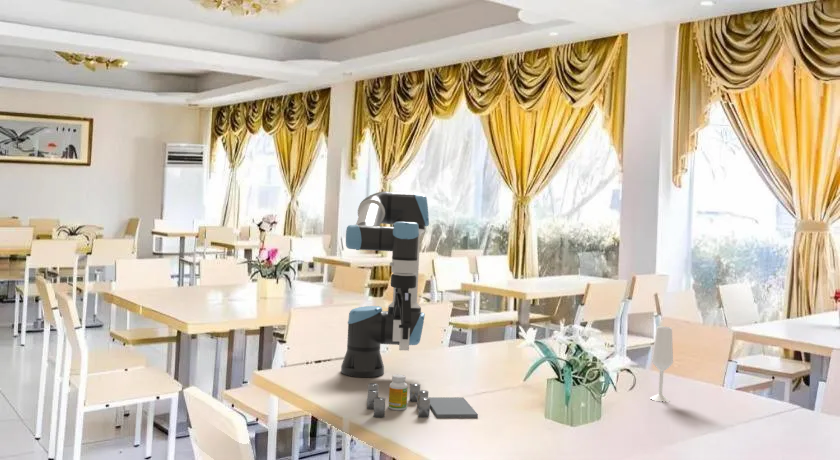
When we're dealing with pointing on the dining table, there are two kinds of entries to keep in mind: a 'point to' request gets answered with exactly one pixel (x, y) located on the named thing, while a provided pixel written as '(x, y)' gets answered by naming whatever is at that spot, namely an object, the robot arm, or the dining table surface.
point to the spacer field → (415, 396)
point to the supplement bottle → (398, 392)
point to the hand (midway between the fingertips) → (400, 345)
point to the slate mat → (451, 407)
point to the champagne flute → (662, 356)
